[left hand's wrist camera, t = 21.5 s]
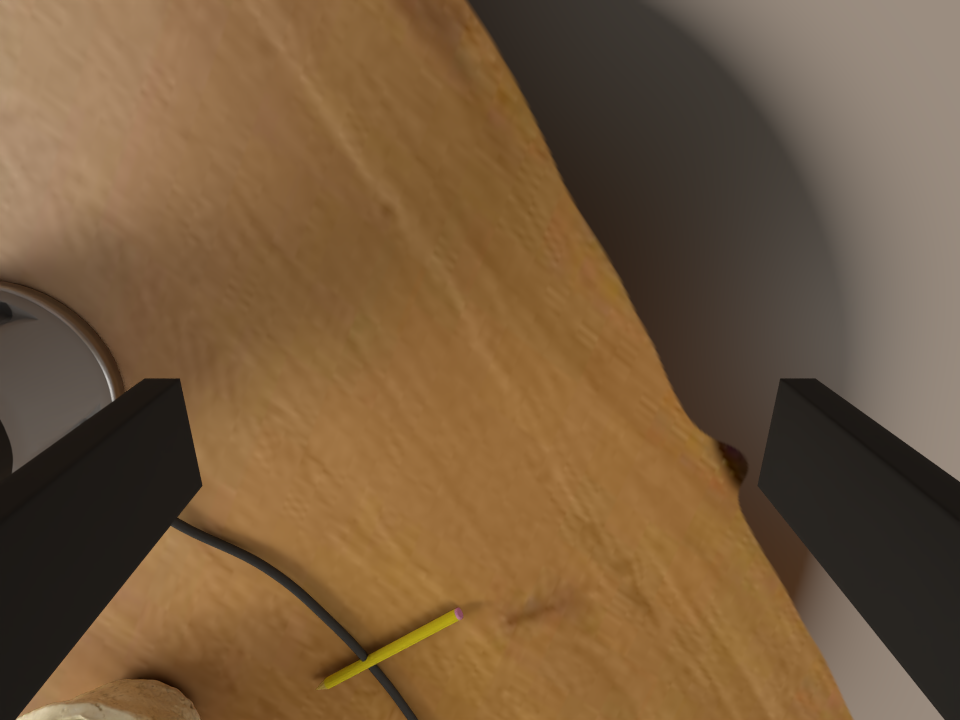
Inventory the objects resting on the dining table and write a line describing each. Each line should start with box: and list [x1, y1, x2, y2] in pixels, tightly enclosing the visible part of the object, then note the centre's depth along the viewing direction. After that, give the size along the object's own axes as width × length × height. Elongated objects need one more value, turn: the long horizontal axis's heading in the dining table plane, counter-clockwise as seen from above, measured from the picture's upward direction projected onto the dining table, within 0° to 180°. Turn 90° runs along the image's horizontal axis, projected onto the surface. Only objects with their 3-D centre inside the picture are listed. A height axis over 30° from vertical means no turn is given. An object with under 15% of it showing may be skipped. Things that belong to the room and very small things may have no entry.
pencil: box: [316, 608, 463, 690], centre depth 51 cm, size 16×1×1 cm, turn 124°
